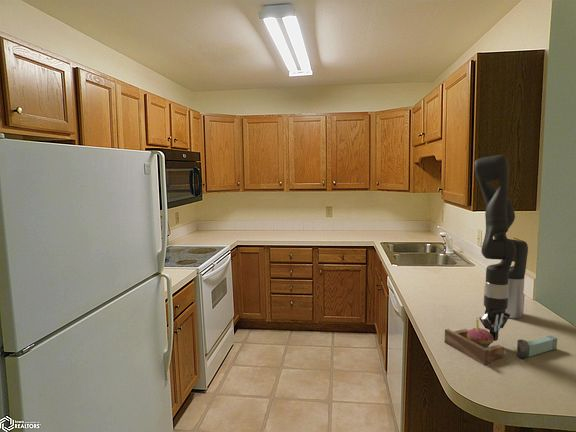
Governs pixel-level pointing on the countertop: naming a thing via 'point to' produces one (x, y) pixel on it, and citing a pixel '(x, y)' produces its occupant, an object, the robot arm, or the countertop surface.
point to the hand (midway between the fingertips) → (493, 339)
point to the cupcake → (480, 336)
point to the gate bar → (541, 345)
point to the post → (522, 349)
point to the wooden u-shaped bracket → (472, 347)
